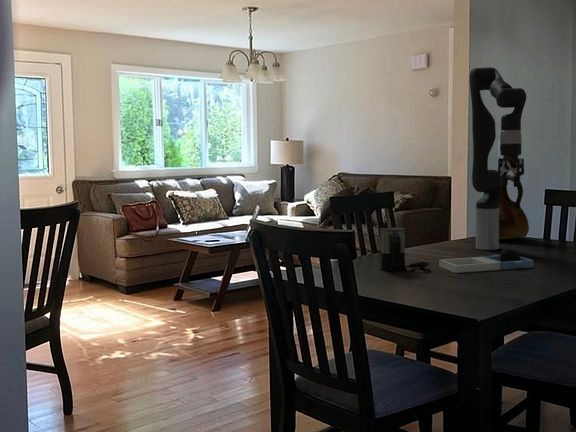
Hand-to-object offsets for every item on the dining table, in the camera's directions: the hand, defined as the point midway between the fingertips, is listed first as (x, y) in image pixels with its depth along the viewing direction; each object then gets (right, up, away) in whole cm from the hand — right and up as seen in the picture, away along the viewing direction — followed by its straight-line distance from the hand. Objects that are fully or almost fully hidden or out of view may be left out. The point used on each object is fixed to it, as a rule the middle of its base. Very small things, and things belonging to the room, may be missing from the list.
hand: (510, 186), depth 245 cm
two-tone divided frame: (-12, -30, -9) cm, 33 cm away
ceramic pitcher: (+16, -22, +55) cm, 61 cm away
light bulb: (-2, -29, -8) cm, 31 cm away
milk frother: (-41, -31, -9) cm, 52 cm away
